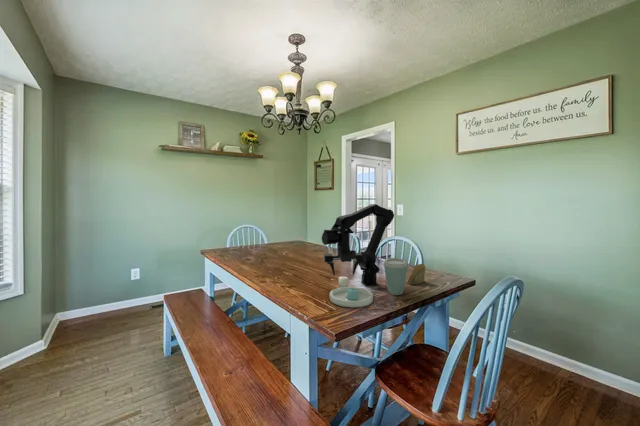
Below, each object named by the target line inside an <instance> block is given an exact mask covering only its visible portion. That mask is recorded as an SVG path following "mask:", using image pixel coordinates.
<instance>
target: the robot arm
mask: <svg viewBox="0 0 640 426" xmlns="http://www.w3.org/2000/svg"><path fill="white" fill-rule="evenodd" d="M371 215H374V216H375V222H376V224H375V227H374V230H373V232H372V234H371V236H370V237H371V238H370V240H369V242H368V244H367V247H366V249H365V250H364V251H360V253H357V252H356V250H355V249H354V250H351V249H350V248H351V246H350V245H351V244H350V243H351V242H350V234H354V233H355V232H354V231H353V230H352V229H351V228H352V227H353V226H355V224H356V223H357V222H358V221H361V220H363V219H365V218H366V217H369V216H371ZM394 217H395V213H394V211H393V210H392V209H388V208H385V207H382V206H380V205H378V204H375V203H371V204H369V205H367V206H365V207H362V208H360V209H359V210H357V211H354V212H352V213H349V214H344V215H340V216H338V217H336V220H335V222H334V224H333V225H332V227H331V229H323V233H322V235H321V242H322V244H323V245H324V246H325V245H336V244H337V255H333V254H332V253H325V254H323V256H322V257H323V261H324V263H326V265H329V266H330V269H331V272H332V275H333V277H335V275H336V274H335V264H334V261H337V260H338V261H339V260H340V262H342V263H345V262H348V263H351V262H352V270H351V273H352V276H355V272H356V269H357V267H358V266H359V268H360V270H361V271H362V274H361V281H360V282H361V283H362V284H363V285H364V286H367V287H368V286H376V285H379V283H378V282H377V281H378V280H377V278H378V277H377V276H378V275H377V274H378V273H379V271H380V267H379V266H378V265H377V264H376V262H377V255H376V254H377V252H378V249H379V246H380V244H381V241H382V238H383V236H384V233H385V231H386V228H387V227H388V226H389V225H390V224H391V223H392V221H393V220H394Z"/></svg>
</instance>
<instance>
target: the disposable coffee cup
mask: <svg viewBox="0 0 640 426" xmlns="http://www.w3.org/2000/svg"><path fill="white" fill-rule="evenodd" d="M382 266H383V267H384V269H383V270H384V273H385V280H386V286H387V291H388V294H390V295H393V296H399V295H403V294H404V291H405V284H406V276H407V271H408V270H407V269H408V263H407V261H406V260H404V259H403V258H398V257H389V258H386V259H384V261H383V264H382Z"/></svg>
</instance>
